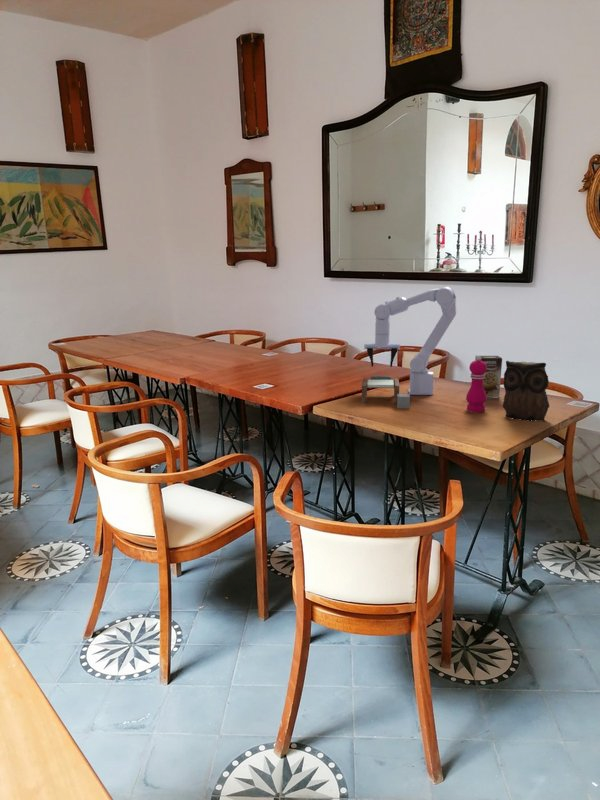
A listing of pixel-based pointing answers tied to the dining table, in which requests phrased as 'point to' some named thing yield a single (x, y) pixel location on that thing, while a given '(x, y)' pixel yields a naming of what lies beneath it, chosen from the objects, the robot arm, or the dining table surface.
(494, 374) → the coffee box
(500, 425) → the dining table surface
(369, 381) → the trapdoor
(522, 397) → the owl
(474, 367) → the pepper mill
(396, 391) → the frame
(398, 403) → the grey cube
